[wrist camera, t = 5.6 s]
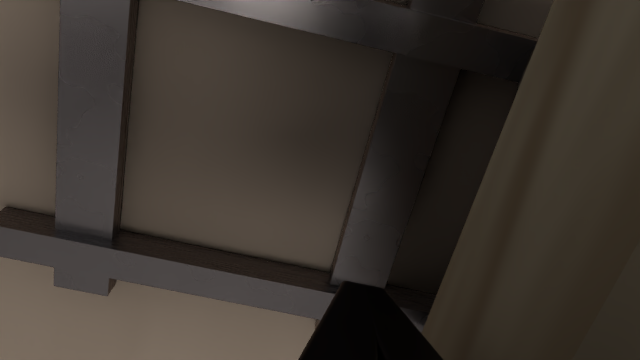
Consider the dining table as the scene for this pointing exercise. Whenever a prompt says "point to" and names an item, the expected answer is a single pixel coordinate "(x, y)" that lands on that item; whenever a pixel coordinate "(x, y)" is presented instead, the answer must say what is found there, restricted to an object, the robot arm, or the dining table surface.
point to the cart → (556, 205)
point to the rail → (228, 268)
